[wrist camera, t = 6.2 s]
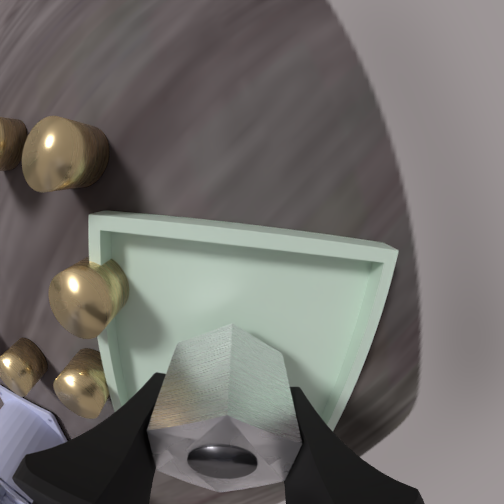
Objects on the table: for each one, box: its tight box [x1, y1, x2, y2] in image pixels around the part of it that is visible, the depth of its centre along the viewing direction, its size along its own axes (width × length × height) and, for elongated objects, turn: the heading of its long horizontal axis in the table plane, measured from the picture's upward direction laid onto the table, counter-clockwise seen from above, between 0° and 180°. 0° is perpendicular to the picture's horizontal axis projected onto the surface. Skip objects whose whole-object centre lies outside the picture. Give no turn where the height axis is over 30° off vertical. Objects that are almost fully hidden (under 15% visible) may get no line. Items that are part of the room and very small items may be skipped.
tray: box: [89, 210, 398, 431], centre depth 13 cm, size 13×13×2 cm
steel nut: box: [147, 323, 302, 492], centre depth 9 cm, size 5×4×5 cm
